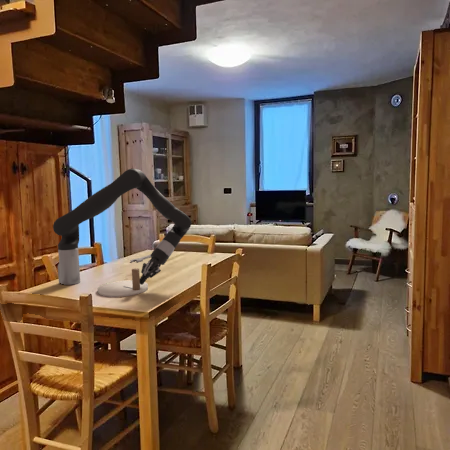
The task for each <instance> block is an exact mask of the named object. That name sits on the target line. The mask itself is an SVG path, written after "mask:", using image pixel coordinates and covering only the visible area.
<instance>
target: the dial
mask: <svg viewBox="0 0 450 450" xmlns="http://www.w3.org/2000/svg"><path fill="white" fill-rule="evenodd" d="M140 278H141V276H140V268H136V267H135V268H132V269H131V280H130V279H128V280H117V281H111V282H108V283H104V284H102V285H99V286H98V287H97V294H98V295H100V296H104V297H110V298H111V297H112V298H120V297H122V298H123V297H129V296H137V295H140V294H142V293H146V292H147V291H148V289H149V284H148V282H146V281H145V282H144V284H143V285H141V284H140Z"/></svg>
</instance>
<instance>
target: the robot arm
mask: <svg viewBox="0 0 450 450" xmlns="http://www.w3.org/2000/svg"><path fill="white" fill-rule="evenodd" d="M134 189H136V190H138V191H139V192H141V193H142V194H143V195H144V196H146V198H147V199H148V200H149V202H150V203H151V204H152V206H153V207H154V209H156V210H157V212H158V213H160V215H162V216H163V218H165V219H167V220H170V221H171V222H172V223H173V224H174V225H173V226H172V227H171V229H170V230H169V231H168V232H167V233H166V234H165V236H164V237H163V238H162V239H161V241H160V242H158V244H157V245H156V247H155V248H154V250H153V251H152V252H151V253H150V254H151V255H150V254H149V255H150V256H151V257H150V259H149V260H148V261H147V262H143V264H142V267H141V270H140V271H141V272H140V273H141V276H140V284H141V285H143V284H144V282H146V281H147V279H150V278H151V279H152V278H153V277H155V276H156V275H157V274H159V273H160V272H161V269H160V268H161V265H162V266H163V265H165V264H166V262H167V261H168V260H169V258H170V257H171V256H172V255H173V253H174V250H175V249H176V248H177V246H178V245H179V243H180V242H181V240H182V239H183V237H185V235H186V234H187V233H188V231H189V230H190V228H191V226H192V220H191V218H190V217H189V216H188V214H186V213H185V212H184V211H182V210H181V209H179V208H178V207H176V206H175V205H174V204H173V203H172V202H171V201H170V200H169V199H168V198H166V196H164V194H162V193H161V192H160V191H159V190H158V189H157V188H156V187H155V185H154V184H153V183H152V182H151V180H150V179H149V178H148V176H147V175H146V174H145V173H144V171H142V170H141V169H139V168H129V169H126V170H125V171H124V172H123V173H121V174H120V175H119V176H118V177H117V178H116V179H114V180H113V181H112V182H111V183H110V184H109V183H108V185H106V186H104V187H102V188H101V189H99V190H97V191H96V192H95V193H93V194H92V195H91V196H88V197H87V198H86V199H85V200H84V201H82V202H81V203H80V204H78V206H76V207H75V208H74V209H72V210H71V211H69V212H67V213H65V214H63V215H62V216H60V217H58V218H57V219H55V221H54V222H53V225H52V229H53V232H54V233H55V234H56V235H57V236H61V238H60V241H59V242H58V244H57V252H58V262H59V263H58V264H57V272H58V274H57V275H58V284H60V283H61V284H60V285H62V284H64V286H70V285H76V284H79V283H81V273H80V272H81V270H80V259H79V257H80V255H79V242H80V224H82V223H84V222H87V221H88V220H90V219H93V218H95V217H97V216H98V215H100V214H102V213H103V212H105V211H106V210H108V209H109V208H111V207H112V206H113V204H114V203H115V202H116V201H117V200H118V199H119V198H120V197H121V196H123V195H124V194H126V193H128V192H130V191H131V190H134Z"/></svg>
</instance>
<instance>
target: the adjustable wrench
mask: <svg viewBox="0 0 450 450" xmlns="http://www.w3.org/2000/svg"><path fill="white" fill-rule="evenodd" d="M151 254H152V253H150V254H148V255H145V256H141V257H139V258H133V259H132V258H131V259H130V263H134V262H135V261H136V263H142V262H143V261H144V260H146V259H149V258H150V259H151V256H150V255H151Z"/></svg>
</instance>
